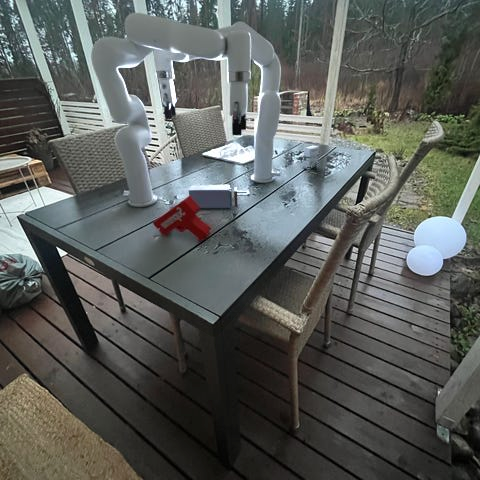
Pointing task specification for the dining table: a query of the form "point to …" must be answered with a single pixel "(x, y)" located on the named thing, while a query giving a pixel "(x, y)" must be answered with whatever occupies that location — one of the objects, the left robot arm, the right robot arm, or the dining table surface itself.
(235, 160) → the relief map
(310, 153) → the ink box
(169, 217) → the toy gun
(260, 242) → the dining table surface
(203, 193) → the cabinet
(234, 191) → the drawer
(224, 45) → the left robot arm
